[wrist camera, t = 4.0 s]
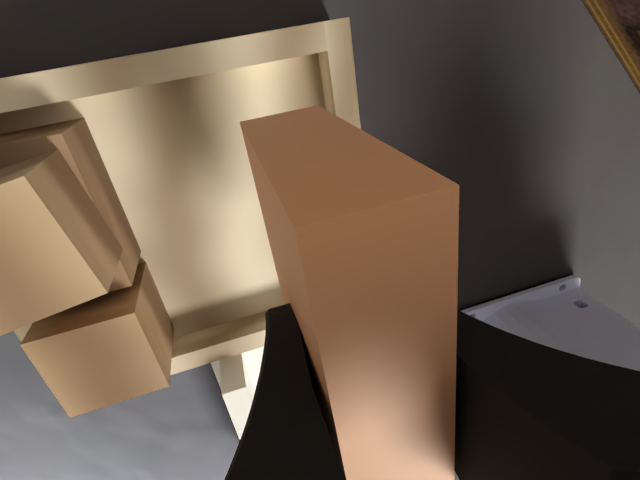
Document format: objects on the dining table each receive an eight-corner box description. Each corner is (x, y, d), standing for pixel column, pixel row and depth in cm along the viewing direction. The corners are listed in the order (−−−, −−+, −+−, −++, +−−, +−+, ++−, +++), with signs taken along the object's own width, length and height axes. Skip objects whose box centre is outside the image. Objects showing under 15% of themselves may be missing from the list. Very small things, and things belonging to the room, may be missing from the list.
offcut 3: (145, 262, 19) (134, 312, 15) (173, 327, 20) (169, 386, 17) (53, 285, 18) (20, 344, 14) (91, 351, 20) (69, 417, 16)
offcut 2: (58, 148, 13) (23, 175, 10) (123, 249, 15) (107, 292, 12) (-68, 193, 13) (-136, 233, 10) (16, 290, 15) (-23, 344, 12)
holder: (325, 311, 24) (345, 354, 21) (345, 421, 29) (365, 470, 25) (207, 346, 23) (209, 398, 19) (249, 455, 28) (256, 511, 24)
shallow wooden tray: (330, 19, 17) (349, 16, 15) (362, 286, 24) (379, 310, 22) (-91, 93, 15) (-141, 103, 12) (79, 370, 21) (65, 407, 19)
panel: (317, 105, 11) (459, 185, 5) (356, 362, 16) (452, 559, 10) (239, 121, 11) (294, 228, 5) (303, 380, 16) (370, 595, 10)
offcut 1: (84, 117, 15) (61, 133, 13) (141, 251, 18) (131, 285, 16) (-31, 139, 15) (-78, 161, 12) (47, 274, 18) (21, 315, 15)
